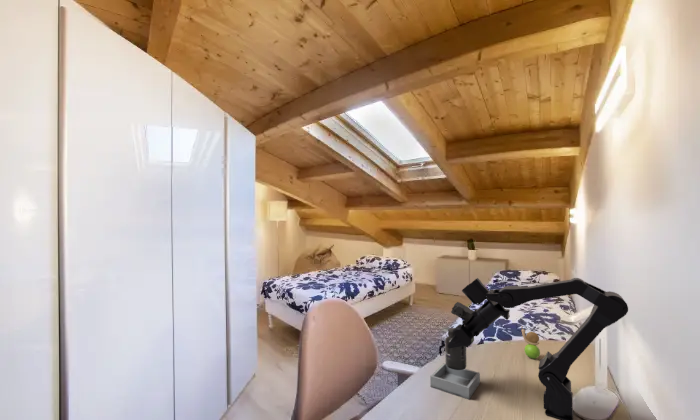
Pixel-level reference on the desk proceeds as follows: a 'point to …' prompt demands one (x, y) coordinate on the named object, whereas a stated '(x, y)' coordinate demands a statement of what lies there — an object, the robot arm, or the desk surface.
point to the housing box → (455, 381)
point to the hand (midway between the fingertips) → (451, 343)
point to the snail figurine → (531, 344)
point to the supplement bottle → (454, 354)
